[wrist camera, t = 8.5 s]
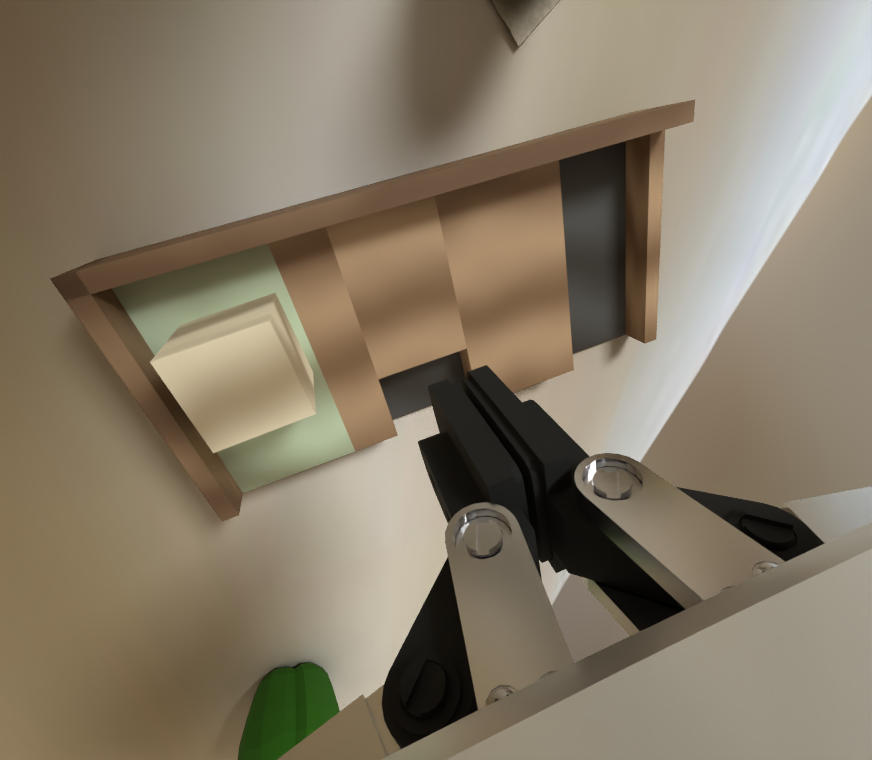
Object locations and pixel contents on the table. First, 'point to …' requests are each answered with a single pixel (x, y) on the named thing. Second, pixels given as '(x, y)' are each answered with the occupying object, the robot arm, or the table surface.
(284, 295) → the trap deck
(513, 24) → the condiment
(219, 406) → the birch block
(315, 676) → the bell pepper
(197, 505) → the table surface
